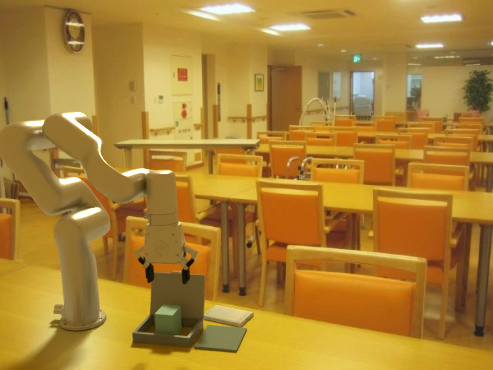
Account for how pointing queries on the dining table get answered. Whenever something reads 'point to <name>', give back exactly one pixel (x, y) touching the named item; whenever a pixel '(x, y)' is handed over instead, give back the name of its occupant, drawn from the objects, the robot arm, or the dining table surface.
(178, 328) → the block
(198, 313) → the lid
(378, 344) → the dining table surface
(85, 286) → the robot arm
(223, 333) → the mat
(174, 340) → the case
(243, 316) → the hard drive
